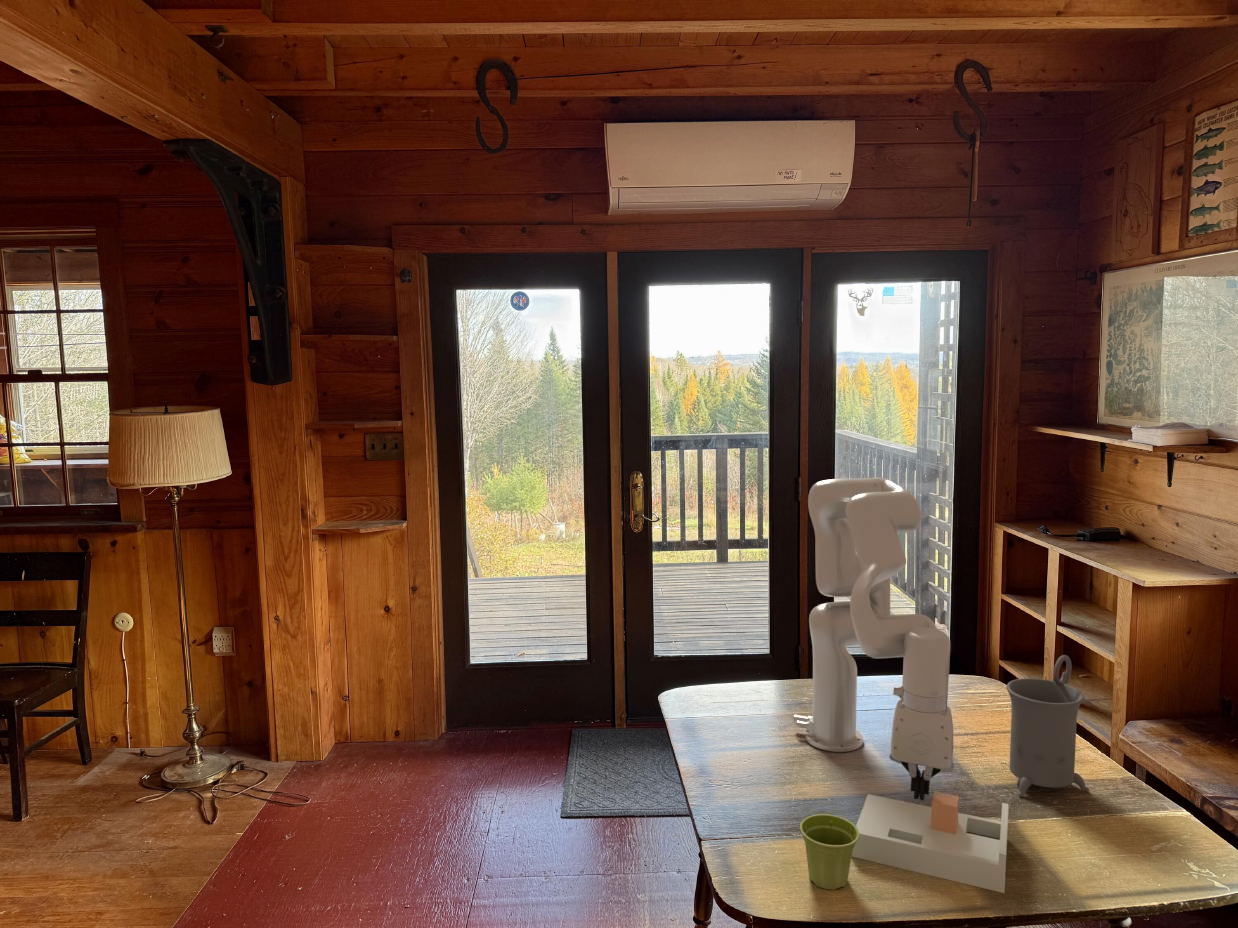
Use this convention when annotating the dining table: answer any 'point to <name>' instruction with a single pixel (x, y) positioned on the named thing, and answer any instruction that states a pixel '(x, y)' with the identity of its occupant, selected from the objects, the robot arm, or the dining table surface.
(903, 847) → the tray
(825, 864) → the plant pot
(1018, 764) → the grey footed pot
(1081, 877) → the dining table surface
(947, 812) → the block
